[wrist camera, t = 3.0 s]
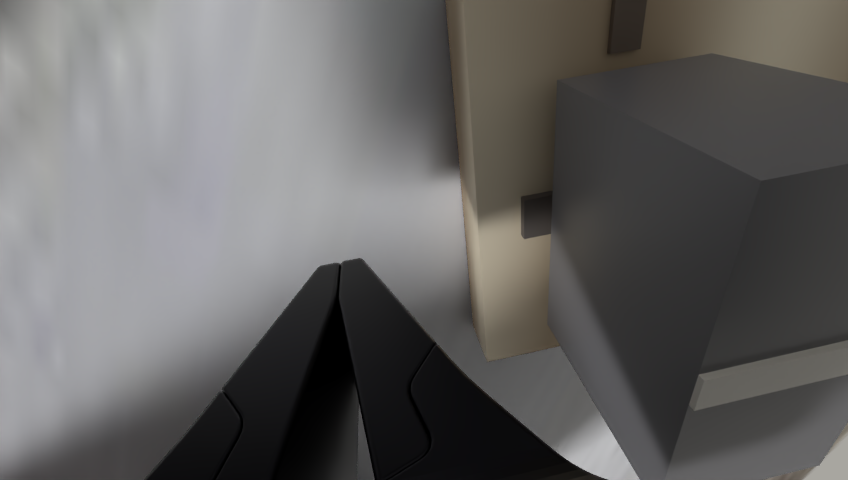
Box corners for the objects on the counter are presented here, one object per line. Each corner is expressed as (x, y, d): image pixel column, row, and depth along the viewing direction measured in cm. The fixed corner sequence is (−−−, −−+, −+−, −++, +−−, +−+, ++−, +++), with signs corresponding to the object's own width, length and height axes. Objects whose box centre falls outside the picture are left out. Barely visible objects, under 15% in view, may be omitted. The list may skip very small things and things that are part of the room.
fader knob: (547, 323, 11) (659, 513, 7) (556, 79, 8) (770, 185, 4) (658, 299, 11) (824, 470, 7) (712, 53, 8) (1056, 128, 4)
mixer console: (473, 325, 13) (489, 367, 12) (444, -7, 9) (465, -3, 7) (961, 221, 15) (1028, 247, 13) (1177, -120, 10) (1319, -136, 8)
